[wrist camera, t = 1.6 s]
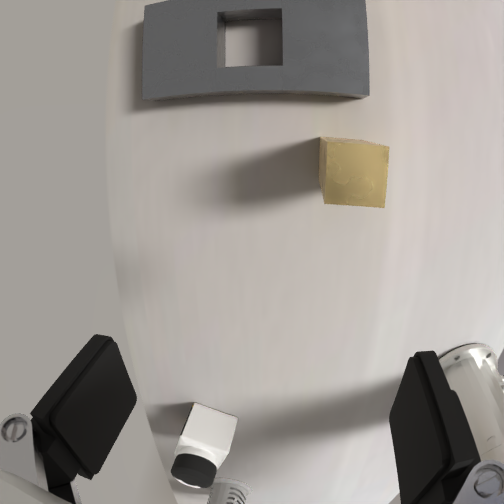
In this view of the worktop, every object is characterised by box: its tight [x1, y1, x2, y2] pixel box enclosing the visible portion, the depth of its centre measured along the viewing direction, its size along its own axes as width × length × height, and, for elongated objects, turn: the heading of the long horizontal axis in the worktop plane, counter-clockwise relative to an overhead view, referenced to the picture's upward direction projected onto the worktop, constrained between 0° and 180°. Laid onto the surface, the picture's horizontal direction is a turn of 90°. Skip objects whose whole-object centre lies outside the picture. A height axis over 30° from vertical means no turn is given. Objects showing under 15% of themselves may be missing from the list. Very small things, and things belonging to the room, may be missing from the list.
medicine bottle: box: [171, 403, 238, 488], centre depth 40 cm, size 7×7×12 cm
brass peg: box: [319, 137, 389, 208], centre depth 23 cm, size 4×4×10 cm
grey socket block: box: [142, 0, 369, 101], centre depth 24 cm, size 20×10×3 cm, turn 90°
